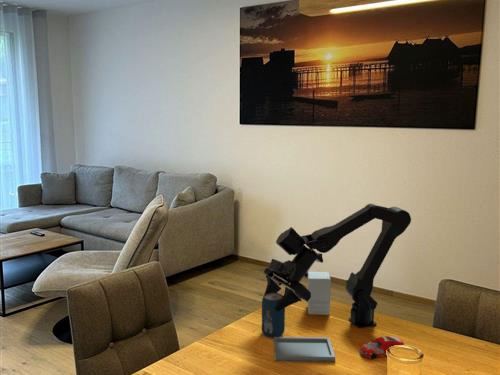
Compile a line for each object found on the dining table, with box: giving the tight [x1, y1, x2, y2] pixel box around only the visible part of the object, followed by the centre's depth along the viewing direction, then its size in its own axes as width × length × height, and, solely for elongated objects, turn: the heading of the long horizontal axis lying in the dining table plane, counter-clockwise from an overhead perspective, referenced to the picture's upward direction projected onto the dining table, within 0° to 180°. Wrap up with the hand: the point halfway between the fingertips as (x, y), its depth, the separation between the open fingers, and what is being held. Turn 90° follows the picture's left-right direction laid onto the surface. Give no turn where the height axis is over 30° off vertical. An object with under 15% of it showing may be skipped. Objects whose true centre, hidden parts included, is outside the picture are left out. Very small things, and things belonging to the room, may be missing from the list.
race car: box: [359, 335, 405, 360], centre depth 128 cm, size 13×5×4 cm, turn 108°
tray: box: [273, 336, 336, 363], centre depth 128 cm, size 16×11×2 cm
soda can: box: [261, 292, 286, 339], centre depth 138 cm, size 7×7×12 cm
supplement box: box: [306, 270, 332, 316], centre depth 155 cm, size 7×7×13 cm
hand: (269, 306), depth 137 cm, fingers closed on soda can, 7 cm apart
